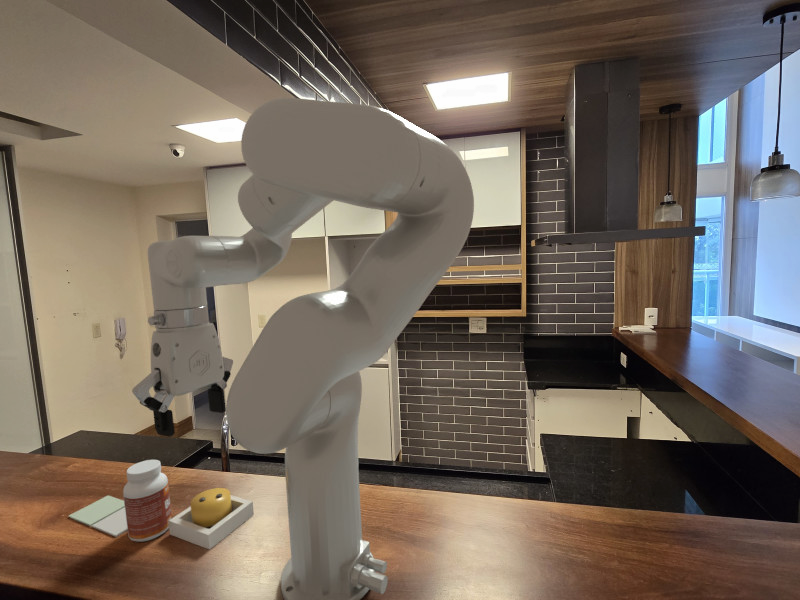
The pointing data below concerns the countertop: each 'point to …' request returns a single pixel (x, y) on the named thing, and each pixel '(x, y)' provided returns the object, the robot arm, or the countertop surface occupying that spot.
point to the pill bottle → (146, 501)
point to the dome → (211, 507)
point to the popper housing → (210, 537)
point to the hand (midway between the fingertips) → (193, 422)
